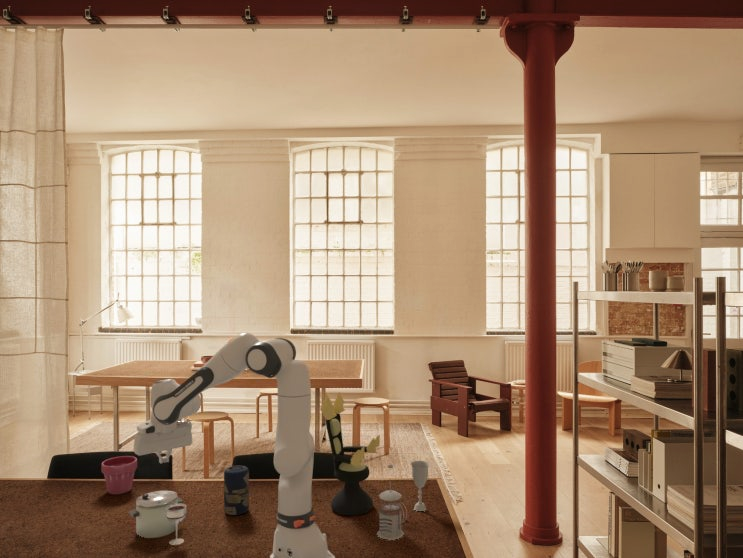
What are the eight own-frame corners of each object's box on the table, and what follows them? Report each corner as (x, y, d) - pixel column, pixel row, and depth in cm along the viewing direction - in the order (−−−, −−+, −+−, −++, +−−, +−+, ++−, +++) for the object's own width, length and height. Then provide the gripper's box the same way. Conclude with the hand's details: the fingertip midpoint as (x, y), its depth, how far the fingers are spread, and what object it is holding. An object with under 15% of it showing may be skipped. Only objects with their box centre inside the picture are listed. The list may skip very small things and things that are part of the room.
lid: (183, 500, 204) (183, 494, 204) (143, 510, 195) (143, 504, 195) (169, 490, 215) (168, 484, 215) (130, 500, 206) (130, 494, 206)
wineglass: (189, 536, 199) (189, 503, 199) (183, 546, 192) (183, 511, 192) (169, 537, 199) (169, 503, 199) (163, 546, 192) (163, 511, 192)
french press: (387, 525, 208) (387, 457, 208) (413, 534, 200) (413, 464, 200) (370, 535, 200) (370, 464, 200) (397, 544, 193) (397, 471, 193)
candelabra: (365, 521, 211) (364, 401, 211) (311, 513, 218) (310, 397, 218) (380, 502, 229) (380, 391, 229) (330, 495, 236) (330, 388, 236)
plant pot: (101, 487, 246) (101, 458, 246) (136, 482, 252) (136, 453, 252) (101, 499, 233) (101, 468, 233) (138, 493, 239) (137, 463, 239)
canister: (242, 518, 215) (242, 470, 214) (219, 515, 216) (219, 469, 216) (253, 507, 224) (252, 462, 224) (230, 506, 226) (230, 461, 226)
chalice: (408, 510, 221) (407, 464, 221) (414, 504, 227) (414, 459, 227) (425, 514, 217) (425, 467, 217) (431, 507, 223) (431, 462, 223)
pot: (188, 528, 206) (188, 501, 206) (138, 543, 194) (137, 514, 194) (174, 516, 216) (174, 490, 216) (125, 529, 205) (125, 502, 205)
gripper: (188, 417, 213) (188, 454, 213) (132, 427, 200) (132, 466, 200) (195, 420, 208) (195, 458, 208) (137, 430, 195) (138, 470, 195)
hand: (164, 462), depth 204 cm, fingers closed
